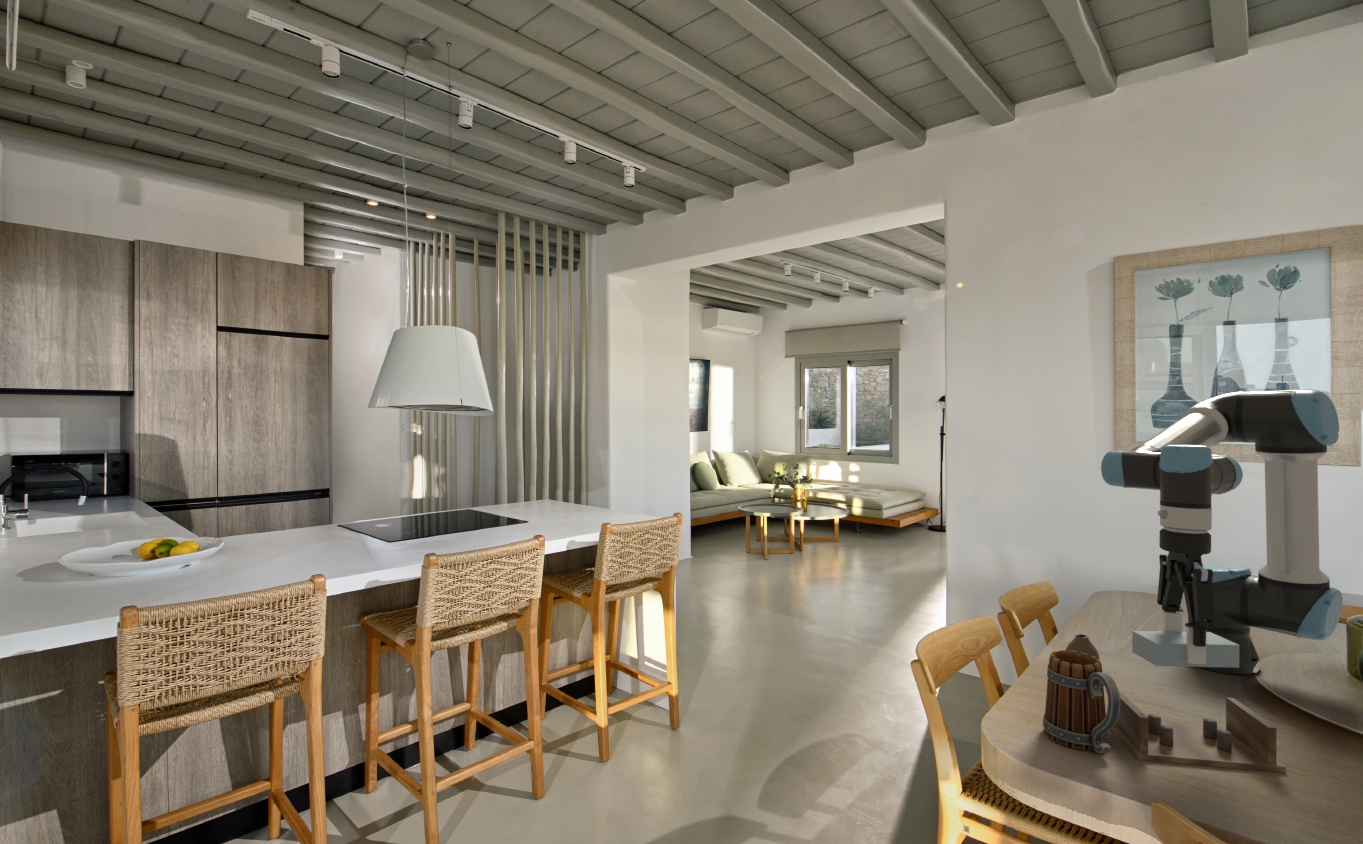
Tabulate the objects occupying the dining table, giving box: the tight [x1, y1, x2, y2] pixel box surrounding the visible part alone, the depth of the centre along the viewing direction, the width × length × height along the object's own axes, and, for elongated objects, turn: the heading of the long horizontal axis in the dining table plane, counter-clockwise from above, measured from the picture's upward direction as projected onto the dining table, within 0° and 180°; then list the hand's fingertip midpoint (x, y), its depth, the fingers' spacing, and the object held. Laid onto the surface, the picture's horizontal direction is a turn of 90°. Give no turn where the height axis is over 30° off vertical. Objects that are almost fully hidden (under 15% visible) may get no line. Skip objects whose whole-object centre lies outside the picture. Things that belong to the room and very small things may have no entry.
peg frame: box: [1110, 689, 1287, 774], centre depth 120 cm, size 22×14×7 cm, turn 78°
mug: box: [1042, 649, 1120, 754], centre depth 121 cm, size 16×11×15 cm
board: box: [1131, 630, 1239, 668], centre depth 121 cm, size 14×7×4 cm, turn 87°
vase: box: [1065, 633, 1101, 661], centre depth 154 cm, size 7×7×9 cm
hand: (1183, 654), depth 121 cm, fingers closed on board, 8 cm apart
